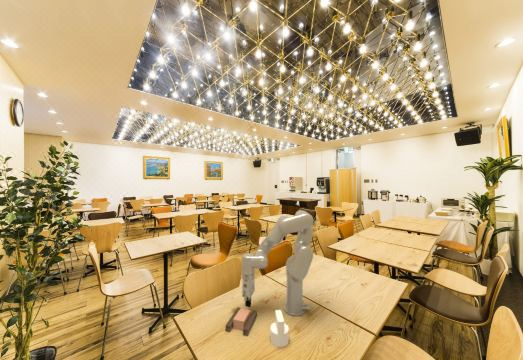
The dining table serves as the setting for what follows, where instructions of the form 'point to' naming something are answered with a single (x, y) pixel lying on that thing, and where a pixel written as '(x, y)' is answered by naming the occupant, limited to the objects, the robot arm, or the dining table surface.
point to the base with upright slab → (279, 331)
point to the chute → (247, 325)
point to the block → (241, 319)
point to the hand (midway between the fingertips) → (248, 306)
